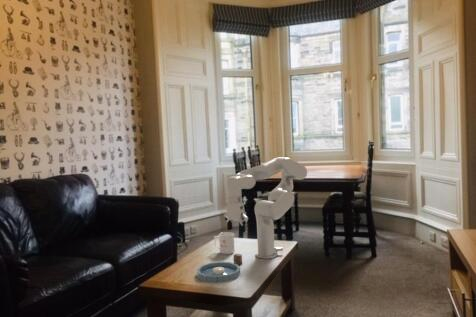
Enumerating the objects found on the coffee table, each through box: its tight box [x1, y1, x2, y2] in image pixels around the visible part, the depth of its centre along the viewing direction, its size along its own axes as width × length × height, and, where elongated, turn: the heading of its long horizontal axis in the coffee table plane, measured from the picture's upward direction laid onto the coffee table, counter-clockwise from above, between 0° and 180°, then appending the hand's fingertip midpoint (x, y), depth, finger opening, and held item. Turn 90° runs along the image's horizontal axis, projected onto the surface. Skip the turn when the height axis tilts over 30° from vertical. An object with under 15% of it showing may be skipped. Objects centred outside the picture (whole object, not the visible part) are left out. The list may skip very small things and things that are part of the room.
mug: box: [213, 231, 236, 255], centre depth 240 cm, size 12×9×11 cm
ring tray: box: [196, 261, 241, 283], centre depth 205 cm, size 21×21×3 cm
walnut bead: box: [233, 253, 243, 267], centre depth 219 cm, size 4×4×5 cm
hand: (236, 231), depth 218 cm, fingers open, 9 cm apart
